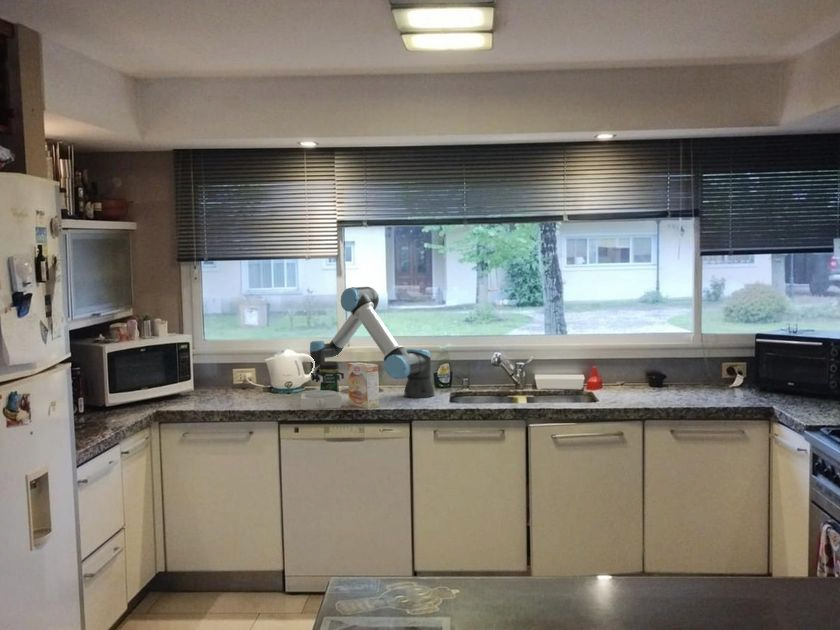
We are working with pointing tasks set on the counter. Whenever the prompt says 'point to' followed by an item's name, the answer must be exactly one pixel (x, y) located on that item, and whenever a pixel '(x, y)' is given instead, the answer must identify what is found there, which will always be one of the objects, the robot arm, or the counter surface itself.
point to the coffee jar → (329, 376)
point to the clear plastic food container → (320, 400)
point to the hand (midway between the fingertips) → (331, 378)
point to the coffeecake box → (363, 385)
